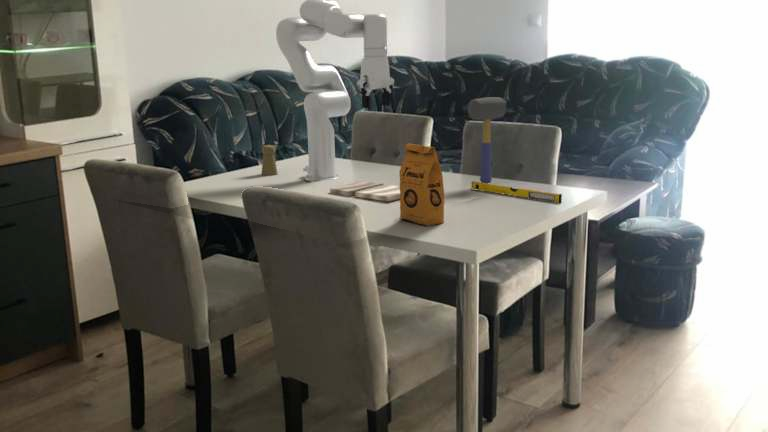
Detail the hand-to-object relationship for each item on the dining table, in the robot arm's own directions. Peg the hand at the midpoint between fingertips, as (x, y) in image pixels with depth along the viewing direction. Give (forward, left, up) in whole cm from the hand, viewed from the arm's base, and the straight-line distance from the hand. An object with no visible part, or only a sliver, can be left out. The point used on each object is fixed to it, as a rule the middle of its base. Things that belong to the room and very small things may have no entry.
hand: (376, 106), depth 270 cm
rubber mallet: (+22, +32, -28) cm, 48 cm away
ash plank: (+10, -7, -27) cm, 30 cm away
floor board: (+5, -7, -28) cm, 30 cm away
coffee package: (+38, -24, -28) cm, 53 cm away
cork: (-53, -1, -28) cm, 60 cm away
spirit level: (+40, +22, -29) cm, 54 cm away
